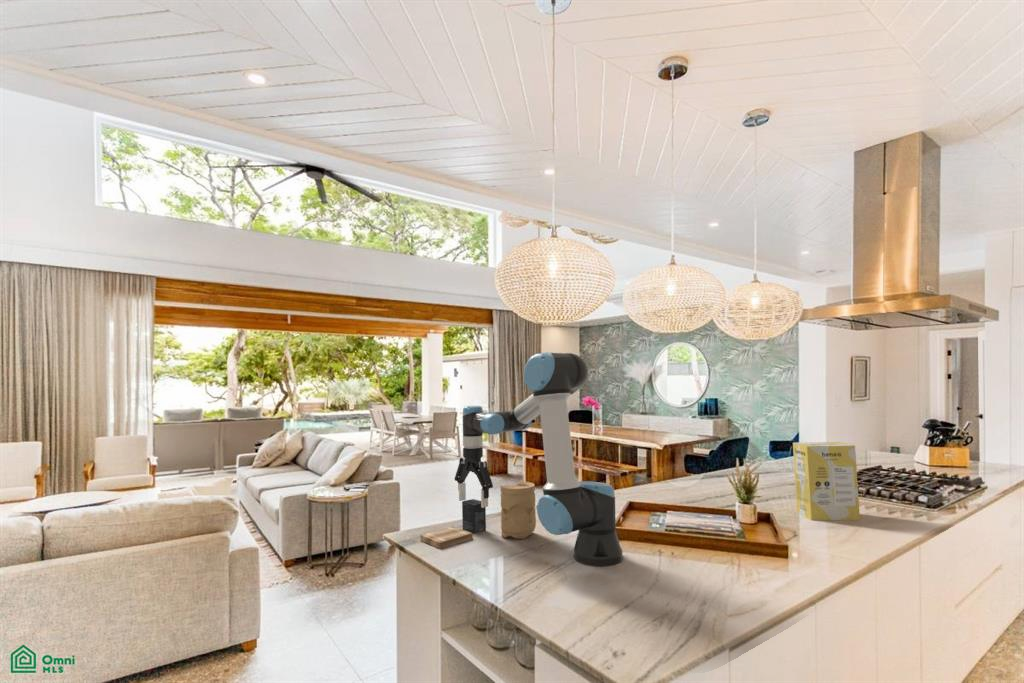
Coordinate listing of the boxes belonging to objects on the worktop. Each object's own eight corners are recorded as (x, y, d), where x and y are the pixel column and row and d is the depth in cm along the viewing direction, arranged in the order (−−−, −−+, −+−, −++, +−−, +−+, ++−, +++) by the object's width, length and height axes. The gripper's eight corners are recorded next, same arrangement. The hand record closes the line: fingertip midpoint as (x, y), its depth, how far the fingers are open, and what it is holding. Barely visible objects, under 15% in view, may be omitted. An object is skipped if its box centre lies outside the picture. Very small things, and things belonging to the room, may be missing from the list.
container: (494, 535, 182) (493, 485, 183) (519, 528, 190) (518, 479, 192) (517, 543, 173) (516, 490, 174) (543, 535, 181) (542, 484, 182)
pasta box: (842, 512, 203) (838, 441, 204) (859, 519, 192) (855, 445, 194) (796, 512, 203) (792, 442, 205) (811, 520, 193) (806, 446, 195)
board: (472, 539, 179) (472, 532, 179) (440, 548, 169) (439, 542, 169) (452, 531, 187) (452, 526, 188) (420, 540, 178) (420, 534, 178)
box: (486, 530, 188) (485, 501, 189) (473, 534, 184) (473, 504, 185) (474, 526, 194) (473, 498, 195) (462, 529, 190) (461, 500, 191)
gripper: (502, 449, 185) (502, 507, 184) (460, 442, 203) (461, 495, 202) (486, 451, 180) (486, 512, 178) (445, 444, 198) (445, 499, 197)
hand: (473, 503), depth 190 cm, fingers open, 13 cm apart
